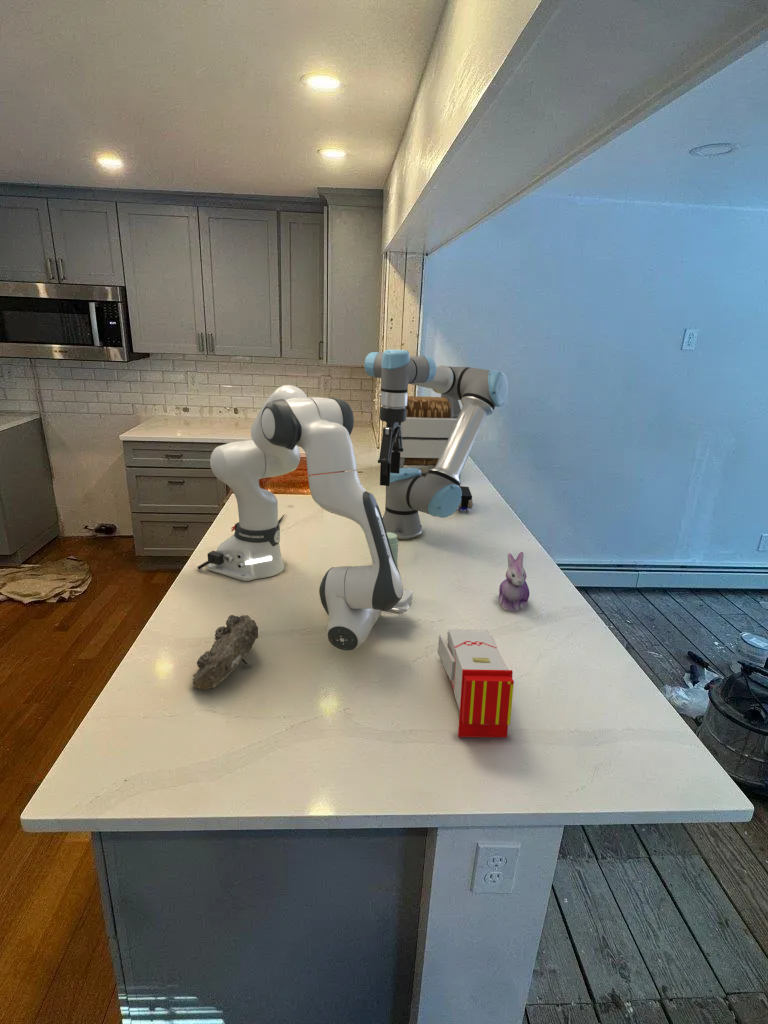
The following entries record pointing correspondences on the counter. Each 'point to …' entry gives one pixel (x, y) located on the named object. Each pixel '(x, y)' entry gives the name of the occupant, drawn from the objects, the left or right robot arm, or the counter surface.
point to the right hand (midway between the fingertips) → (389, 479)
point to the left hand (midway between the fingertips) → (380, 581)
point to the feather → (281, 519)
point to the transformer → (427, 429)
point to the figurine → (514, 585)
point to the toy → (478, 682)
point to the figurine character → (465, 499)
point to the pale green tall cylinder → (393, 545)
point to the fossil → (226, 651)
